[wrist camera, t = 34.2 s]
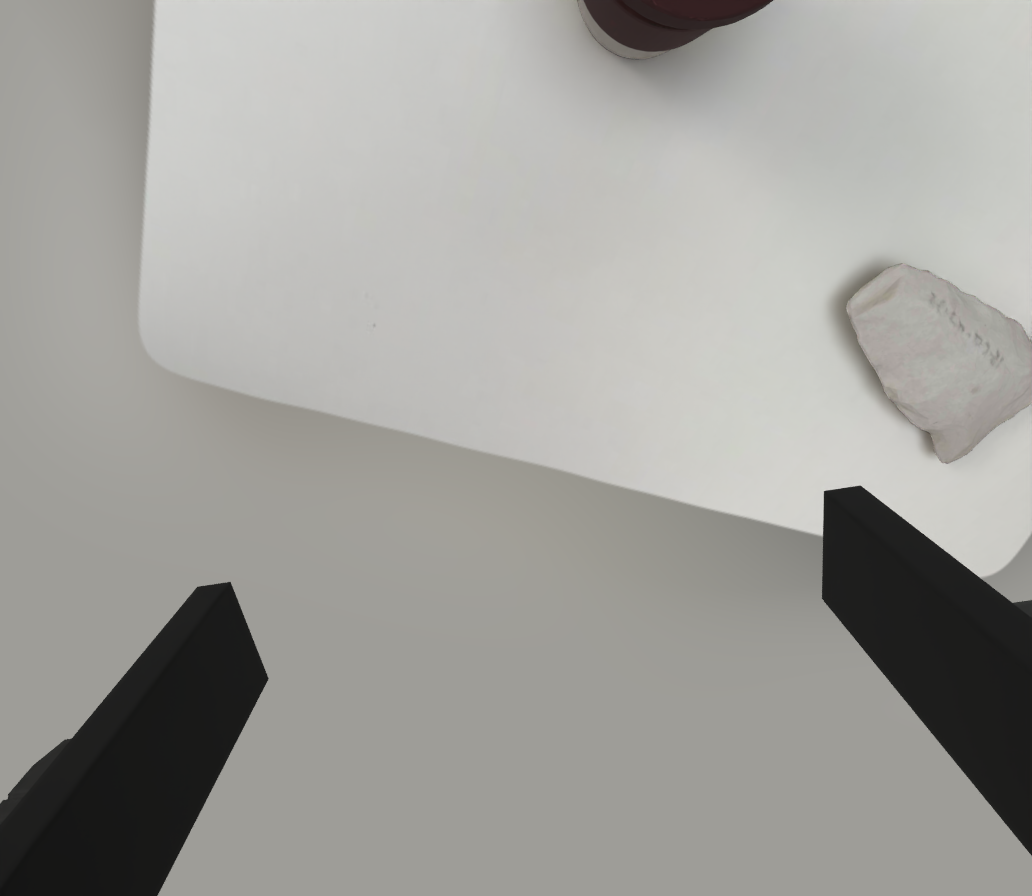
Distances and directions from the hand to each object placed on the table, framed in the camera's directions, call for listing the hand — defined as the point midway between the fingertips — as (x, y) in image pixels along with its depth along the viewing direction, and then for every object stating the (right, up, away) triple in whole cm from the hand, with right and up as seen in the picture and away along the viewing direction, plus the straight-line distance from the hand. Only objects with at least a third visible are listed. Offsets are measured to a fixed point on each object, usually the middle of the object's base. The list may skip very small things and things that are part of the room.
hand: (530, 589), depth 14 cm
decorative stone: (+27, +10, +28) cm, 40 cm away
